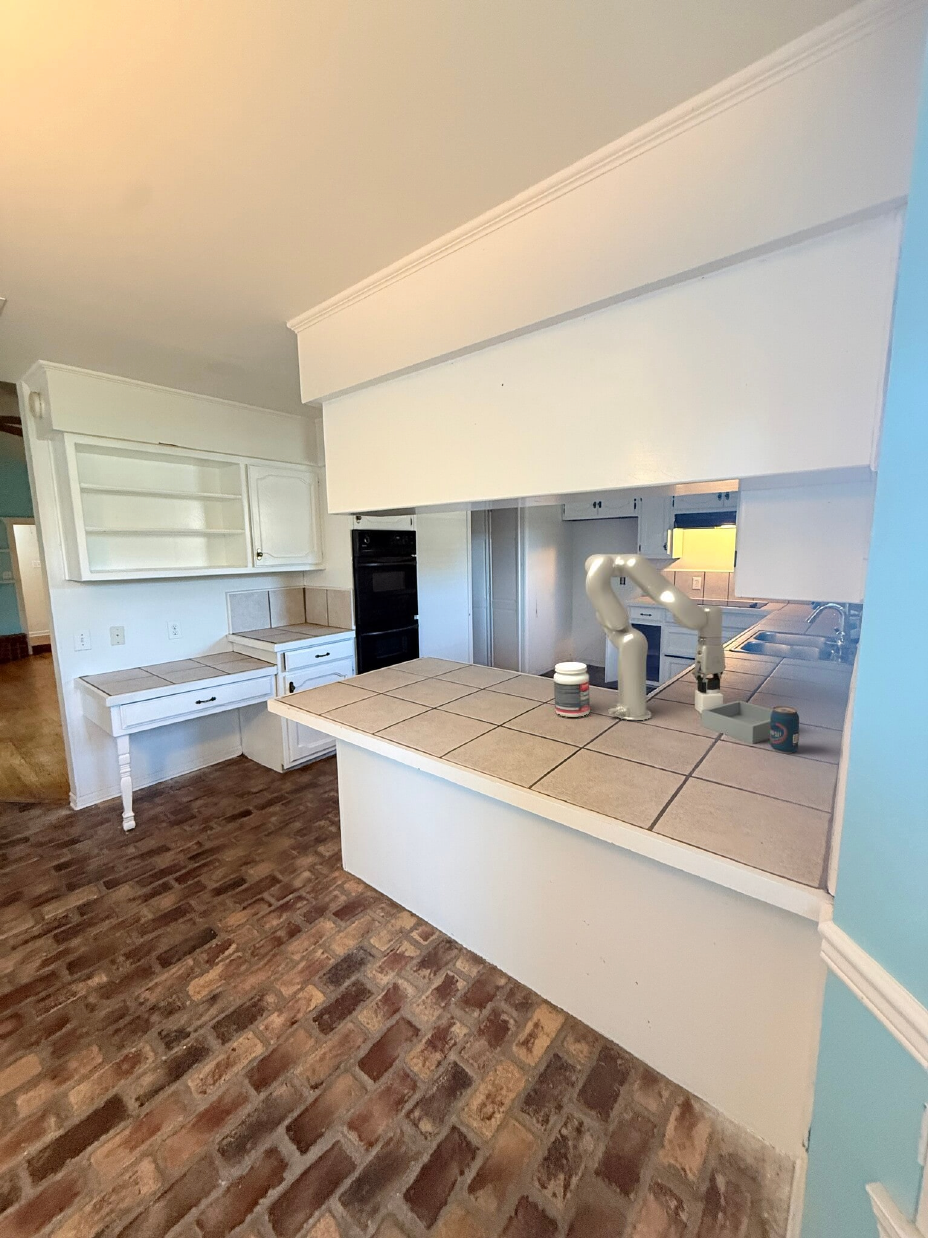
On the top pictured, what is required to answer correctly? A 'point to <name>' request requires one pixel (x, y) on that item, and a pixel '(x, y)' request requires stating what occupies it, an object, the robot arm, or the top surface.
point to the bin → (739, 721)
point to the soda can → (784, 729)
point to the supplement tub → (571, 689)
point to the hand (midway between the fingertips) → (708, 690)
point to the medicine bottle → (708, 696)
